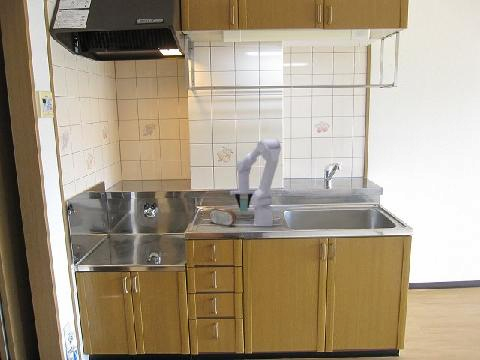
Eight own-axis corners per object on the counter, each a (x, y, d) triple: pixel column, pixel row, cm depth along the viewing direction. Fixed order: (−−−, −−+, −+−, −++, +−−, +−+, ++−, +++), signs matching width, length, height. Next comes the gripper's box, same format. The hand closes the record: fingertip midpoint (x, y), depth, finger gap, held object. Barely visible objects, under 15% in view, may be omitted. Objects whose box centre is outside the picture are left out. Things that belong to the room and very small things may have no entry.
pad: (252, 215, 216) (252, 214, 216) (252, 219, 209) (252, 217, 208) (235, 215, 217) (235, 214, 216) (235, 219, 209) (235, 218, 209)
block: (247, 209, 214) (247, 198, 213) (247, 211, 210) (247, 200, 209) (240, 209, 214) (240, 198, 213) (240, 211, 210) (240, 200, 209)
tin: (236, 225, 198) (236, 209, 196) (233, 227, 195) (233, 211, 193) (212, 221, 205) (211, 206, 204) (208, 223, 202) (208, 207, 201)
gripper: (257, 181, 213) (257, 205, 215) (230, 181, 213) (230, 205, 216) (257, 184, 206) (257, 209, 208) (229, 184, 206) (230, 209, 209)
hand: (243, 207), depth 212 cm, fingers closed on block, 4 cm apart
